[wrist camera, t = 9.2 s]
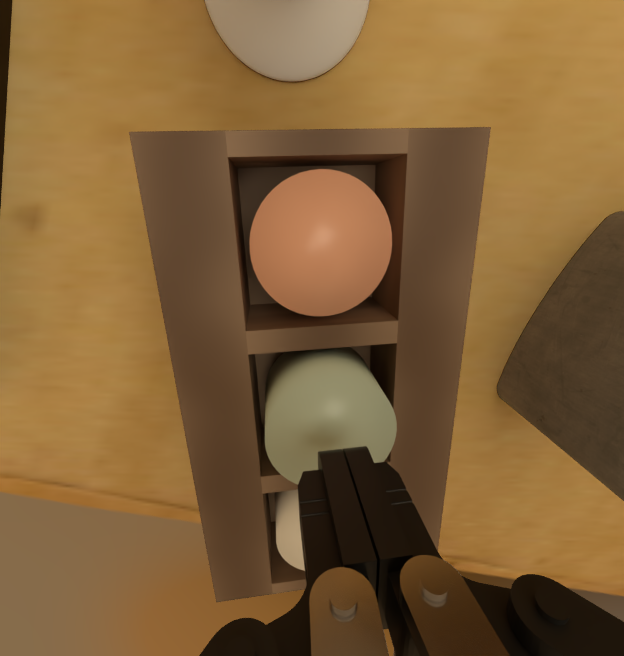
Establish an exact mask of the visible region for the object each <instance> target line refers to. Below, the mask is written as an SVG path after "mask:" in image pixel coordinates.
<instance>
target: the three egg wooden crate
mask: <svg viewBox="0 0 624 656" xmlns="http://www.w3.org/2000/svg"><path fill="white" fill-rule="evenodd" d="M490 129H491V127H470V128H392V129H314V130H236V131H158V132H129V134H130V140H131V145H132V150H133V156H134V161H135V167H136V172H137V177H138V183H139V188H140V194H141V199H142V204H143V210H144V215H145V220H146V226H147V231H148V237H149V242H150V247H151V253H152V258H153V264H154V269H155V274H156V280H157V285H158V290H159V296H160V301H161V307H162V312H163V317H164V323H165V328H166V333H167V339H168V344H169V350H170V355H171V360H172V366H173V371H174V377H175V382H176V387H177V393H178V398H179V403H180V409H181V414H182V420H183V425H184V430H185V436H186V441H187V447H188V452H189V457H190V463H191V468H192V473H193V479H194V484H195V490H196V495H197V500H198V506H199V511H200V517H201V522H202V527H203V533H204V538H205V543H206V549H207V554H208V560H209V565H210V570H211V575H212V581H213V586H214V592H215V597H216V602H221V601H228V600H235V599H241V598H249V597H255V596H262V595H269V594H276V593H282V592H289V591H296V590H303V589H306V577H305V571H303V570H300V569H298V568H296V567H293V566H292V565H290V564H289V563H288V562H286V561H285V560H284V559H283V557H282V556H281V555H280V553H279V551H278V548H277V544H276V513H275V492H280V491H289V490H297V489H298V484H295V483H293V482H291V481H289V480H288V479H286V478H285V477H284V476H282V475H281V474H280V473H279V472H278V471H277V470H276V469H275V467H274V466H273V465H272V463H271V461H270V459H269V458H268V455H267V452H266V447H265V386H266V380H267V376H268V373H269V371H270V369H271V367H272V365H273V364H274V362H275V361H276V360H277V359H278V358H279V356H281V355H282V354H283V353H284V352H288V351H301V350H314V349H327V348H340V347H351V348H352V349H354V350H355V351H356V352H357V353H358V354H359V355H360V356H361V357H362V358H363V360H364V361H365V363H366V365H367V366H368V368H369V369H370V371H371V373H372V374H373V376H374V378H375V379H376V381H377V383H378V384H379V386H380V387H381V389H382V391H383V392H384V394H385V396H386V397H387V399H388V400H389V402H390V404H391V406H392V408H393V410H394V413H395V416H396V422H397V432H396V438H395V442H394V445H393V447H392V449H391V452H390V453H389V455H388V457H387V458H386V459H385V461H384V462H387V463H388V464H389V465H390V466H391V467H392V468H394V469H395V470H396V471H397V472H398V473H399V475H400V477H401V479H402V481H403V483H404V485H405V487H406V490H407V491H408V493H409V495H410V497H411V499H412V502H413V504H414V505H415V507H416V509H417V511H418V513H419V515H420V517H421V519H422V521H423V523H424V525H425V527H426V529H427V531H428V533H429V535H430V537H431V539H432V541H433V543H434V545H435V547H436V549H437V551H438V544H439V536H440V528H441V520H442V512H443V504H444V496H445V488H446V480H447V472H448V464H449V456H450V448H451V440H452V432H453V424H454V416H455V408H456V400H457V392H458V385H459V377H460V369H461V361H462V353H463V345H464V337H465V329H466V321H467V313H468V305H469V297H470V289H471V281H472V273H473V265H474V257H475V249H476V241H477V233H478V225H479V217H480V209H481V201H482V193H483V185H484V177H485V169H486V161H487V153H488V145H489V137H490ZM316 169H331V170H336V171H341V172H344V173H346V174H349V175H351V176H353V177H355V178H357V179H359V180H360V181H362V182H363V183H364V184H366V185H367V186H368V187H369V188H370V189H371V190H372V191H373V192H374V193H375V194H376V196H377V197H378V198H379V199H380V201H381V203H382V204H383V206H384V208H385V210H386V213H387V215H388V218H389V221H390V225H391V232H392V251H391V257H390V261H389V264H388V267H387V270H386V272H385V274H384V276H383V278H382V280H381V282H380V283H379V285H378V286H377V288H376V289H375V290H374V291H373V292H372V293H371V294H370V295H369V296H368V297H367V298H366V299H365V300H364V301H362V302H361V303H360V304H358V305H357V306H355V307H353V308H351V309H349V310H347V311H345V312H342V313H339V314H335V315H330V316H309V315H304V314H300V313H297V312H294V311H292V310H289V309H287V308H286V307H284V306H282V305H281V304H279V303H278V302H277V301H275V300H274V299H273V298H272V297H271V296H270V295H269V294H268V293H267V292H266V290H265V289H264V288H263V287H262V285H261V283H260V282H259V280H258V278H257V276H256V274H255V271H254V269H253V265H252V262H251V256H250V243H249V241H250V231H251V227H252V223H253V220H254V217H255V215H256V212H257V210H258V209H259V207H260V205H261V203H262V202H263V200H264V199H265V198H266V196H267V195H268V194H269V193H270V192H271V191H272V190H273V189H274V188H275V187H276V186H277V185H279V184H280V183H281V182H282V181H284V180H286V179H288V178H289V177H291V176H293V175H296V174H298V173H301V172H305V171H309V170H316Z"/></svg>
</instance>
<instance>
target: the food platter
mask: <svg viewBox="0 0 624 656" xmlns="http://www.w3.org/2000/svg"><path fill="white" fill-rule="evenodd" d="M11 14H12V0H0V207H1V190H2V172H3V155H4V137H5V119H6V102H7V84H8V67H9V49H10V31H11Z"/></svg>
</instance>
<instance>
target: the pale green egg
mask: <svg viewBox="0 0 624 656" xmlns="http://www.w3.org/2000/svg"><path fill="white" fill-rule="evenodd" d="M396 432H397V422H396V416H395V413H394V410H393V408H392V406H391V404H390V402H389V400H388V399H387V397H386V396H385V394H384V392H383V391H382V389H381V387H380V386H379V384H378V383H377V381H376V379H375V378H374V376H373V374H372V373H371V371H370V369H369V368H368V366H367V365H366V363H365V361H364V360H363V358H362V357H361V356H360V355H359V354H358V353H357V352H356V351H355V350H354V349H352V348H351V347H340V348H327V349H314V350H301V351H288V352H284V353H283V354H282V355H281V356H279V358H278V359H277V360H276V361H275V362H274V364H273V365H272V367H271V369H270V371H269V373H268V376H267V380H266V386H265V447H266V452H267V455H268V458H269V459H270V461H271V463H272V465H273V466H274V467H275V469H276V470H277V471H278V472H279V473H280V474H281V475H282V476H284V477H285V478H286V479H288V480H289V481H291V482H293V483H295V484H299V481H300V478H301V476H302V473H303V471H311V470H318V451H327V450H336V449H344V448H353V447H362V446H367V448H368V450H369V452H370V454H371V457H372V459H373V461H374V463H379V462H384V461H385V459H386V458H387V457H388V455H389V453H390V452H391V449H392V447H393V445H394V442H395V438H396Z"/></svg>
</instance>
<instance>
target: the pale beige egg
mask: <svg viewBox="0 0 624 656" xmlns="http://www.w3.org/2000/svg"><path fill="white" fill-rule="evenodd" d="M275 513H276V544H277V548H278V551H279V553H280V555H281V556H282V557H283V559H284V560H285V561H286V562H288V563H289V564H290V565H292V566H293V567H296V568H298V569H300V570H303V571H305V568H304V558H303V549H302V540H301V531H300V519H299V501H298V489H297V490H289V491H280V492H275Z"/></svg>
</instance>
